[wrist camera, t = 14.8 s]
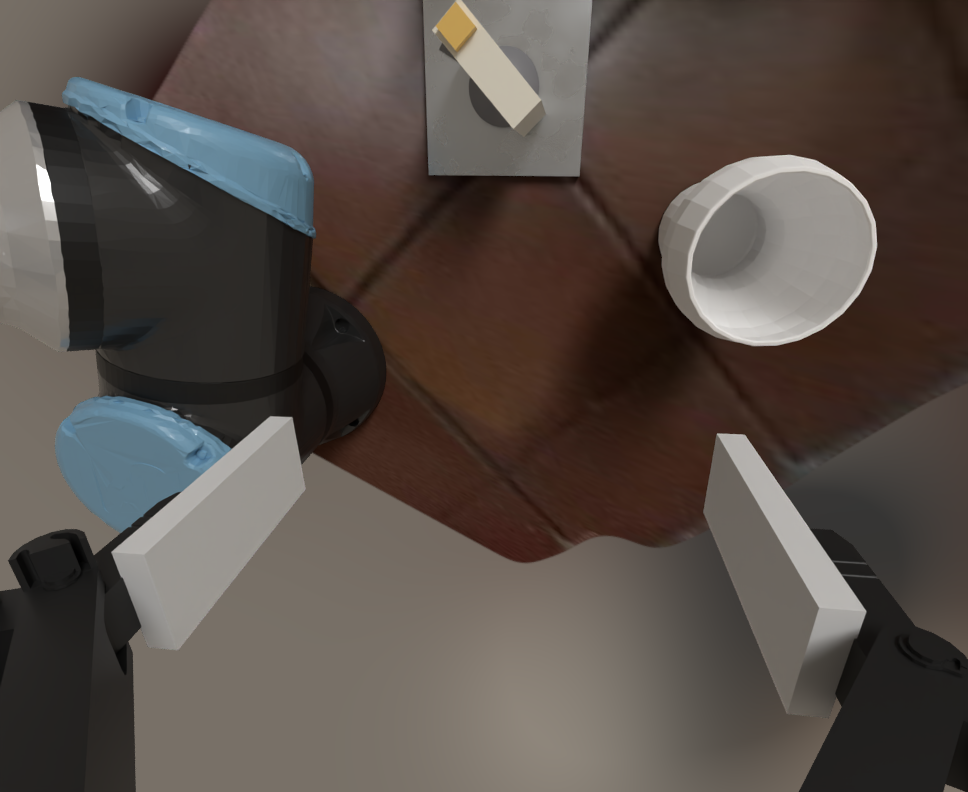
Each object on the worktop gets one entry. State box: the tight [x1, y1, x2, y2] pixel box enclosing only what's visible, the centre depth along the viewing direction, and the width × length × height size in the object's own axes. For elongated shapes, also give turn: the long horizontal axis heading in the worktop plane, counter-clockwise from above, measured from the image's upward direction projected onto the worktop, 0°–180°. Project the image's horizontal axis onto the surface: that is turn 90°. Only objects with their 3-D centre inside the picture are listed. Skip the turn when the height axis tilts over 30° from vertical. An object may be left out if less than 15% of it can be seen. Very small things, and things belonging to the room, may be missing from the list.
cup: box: [658, 155, 877, 346], centre depth 35 cm, size 11×11×15 cm
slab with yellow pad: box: [432, 0, 546, 137], centre depth 34 cm, size 5×7×10 cm
